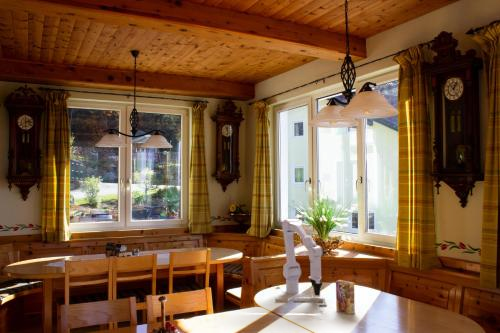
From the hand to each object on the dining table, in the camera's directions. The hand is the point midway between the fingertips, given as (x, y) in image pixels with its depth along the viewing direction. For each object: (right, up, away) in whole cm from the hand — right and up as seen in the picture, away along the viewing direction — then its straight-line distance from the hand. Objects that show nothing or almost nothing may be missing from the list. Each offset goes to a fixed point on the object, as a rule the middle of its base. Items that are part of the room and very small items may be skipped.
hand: (316, 293), depth 233 cm
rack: (-4, -5, 0) cm, 7 cm away
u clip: (0, -1, 0) cm, 1 cm away
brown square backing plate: (-19, -6, +2) cm, 20 cm away
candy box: (+13, -5, -15) cm, 20 cm away
